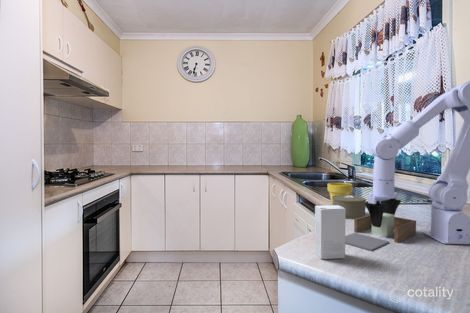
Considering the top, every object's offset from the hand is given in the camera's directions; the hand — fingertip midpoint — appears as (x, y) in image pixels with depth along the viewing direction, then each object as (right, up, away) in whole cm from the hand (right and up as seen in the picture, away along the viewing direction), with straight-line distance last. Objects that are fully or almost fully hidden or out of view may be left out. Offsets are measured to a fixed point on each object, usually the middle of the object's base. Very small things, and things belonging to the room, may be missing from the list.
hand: (382, 224), depth 88 cm
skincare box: (-22, -4, -18) cm, 28 cm away
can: (-1, -2, +23) cm, 23 cm away
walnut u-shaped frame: (+1, -3, +1) cm, 3 cm away
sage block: (0, -3, 0) cm, 3 cm away
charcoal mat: (-9, -3, -7) cm, 12 cm away
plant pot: (+2, -1, +41) cm, 41 cm away
